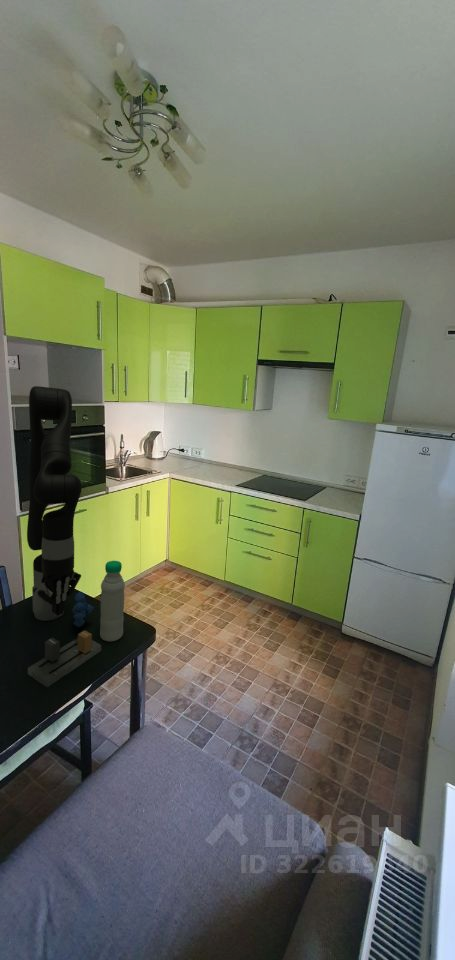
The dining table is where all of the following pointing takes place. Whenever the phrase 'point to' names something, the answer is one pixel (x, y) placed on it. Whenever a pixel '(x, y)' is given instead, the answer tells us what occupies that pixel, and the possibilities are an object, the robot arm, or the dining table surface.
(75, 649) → the console
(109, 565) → the water bottle
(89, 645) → the fader
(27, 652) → the dining table surface
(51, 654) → the fader
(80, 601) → the grapes
